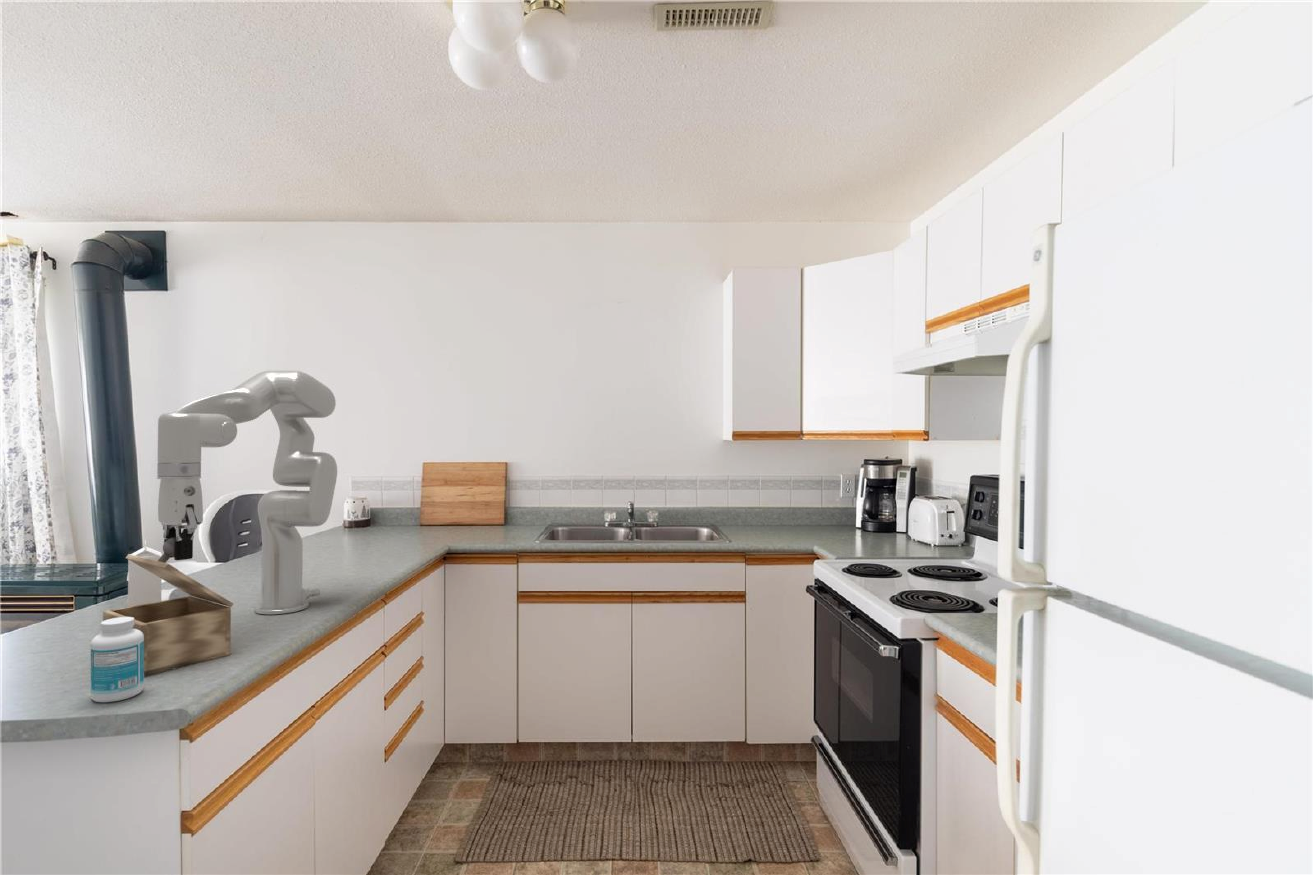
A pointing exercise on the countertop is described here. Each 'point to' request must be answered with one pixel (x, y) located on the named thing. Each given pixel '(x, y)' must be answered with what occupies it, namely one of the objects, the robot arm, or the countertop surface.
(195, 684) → the countertop surface
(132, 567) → the milk
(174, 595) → the spoon rest
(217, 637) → the wooden box
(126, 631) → the pill bottle
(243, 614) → the countertop surface
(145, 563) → the flap
